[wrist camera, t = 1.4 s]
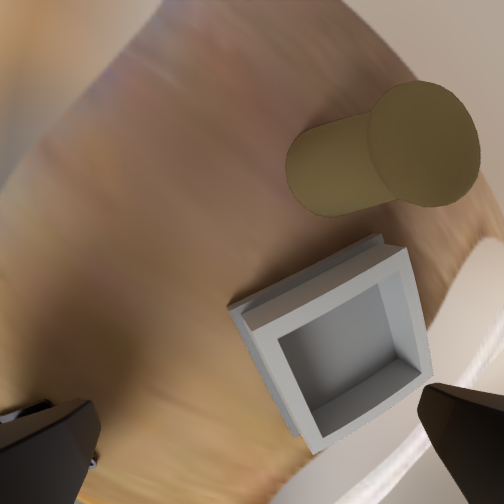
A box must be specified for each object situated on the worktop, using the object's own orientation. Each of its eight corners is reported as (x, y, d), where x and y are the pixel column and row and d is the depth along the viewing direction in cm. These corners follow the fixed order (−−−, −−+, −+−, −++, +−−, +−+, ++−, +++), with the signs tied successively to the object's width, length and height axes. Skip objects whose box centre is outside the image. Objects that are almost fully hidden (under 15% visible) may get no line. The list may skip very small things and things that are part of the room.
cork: (366, 132, 20) (488, 86, 10) (368, 218, 21) (501, 222, 10) (284, 121, 19) (383, 39, 8) (285, 216, 20) (399, 214, 9)
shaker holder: (289, 430, 21) (308, 462, 17) (226, 306, 19) (238, 327, 16) (407, 358, 23) (439, 376, 19) (373, 232, 21) (409, 235, 17)
